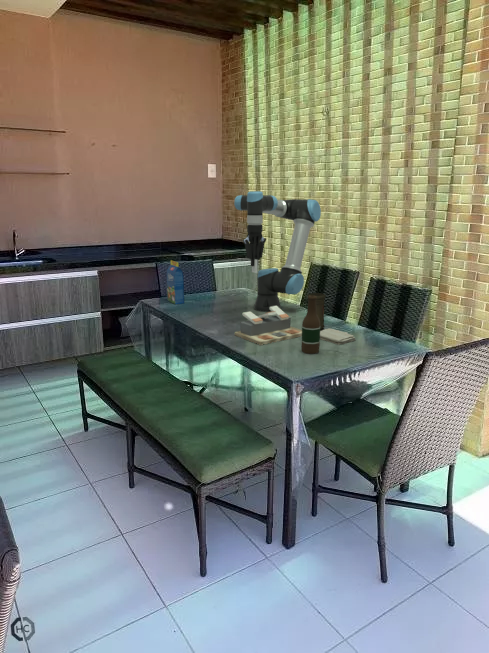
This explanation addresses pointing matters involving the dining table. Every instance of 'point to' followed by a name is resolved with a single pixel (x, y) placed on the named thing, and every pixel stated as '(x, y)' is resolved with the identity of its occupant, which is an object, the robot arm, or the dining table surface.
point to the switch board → (272, 336)
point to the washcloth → (336, 336)
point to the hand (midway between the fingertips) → (254, 272)
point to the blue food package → (175, 284)
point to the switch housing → (264, 326)
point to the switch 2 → (279, 313)
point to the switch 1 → (252, 317)
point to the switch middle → (267, 315)
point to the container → (320, 307)
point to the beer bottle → (311, 328)
